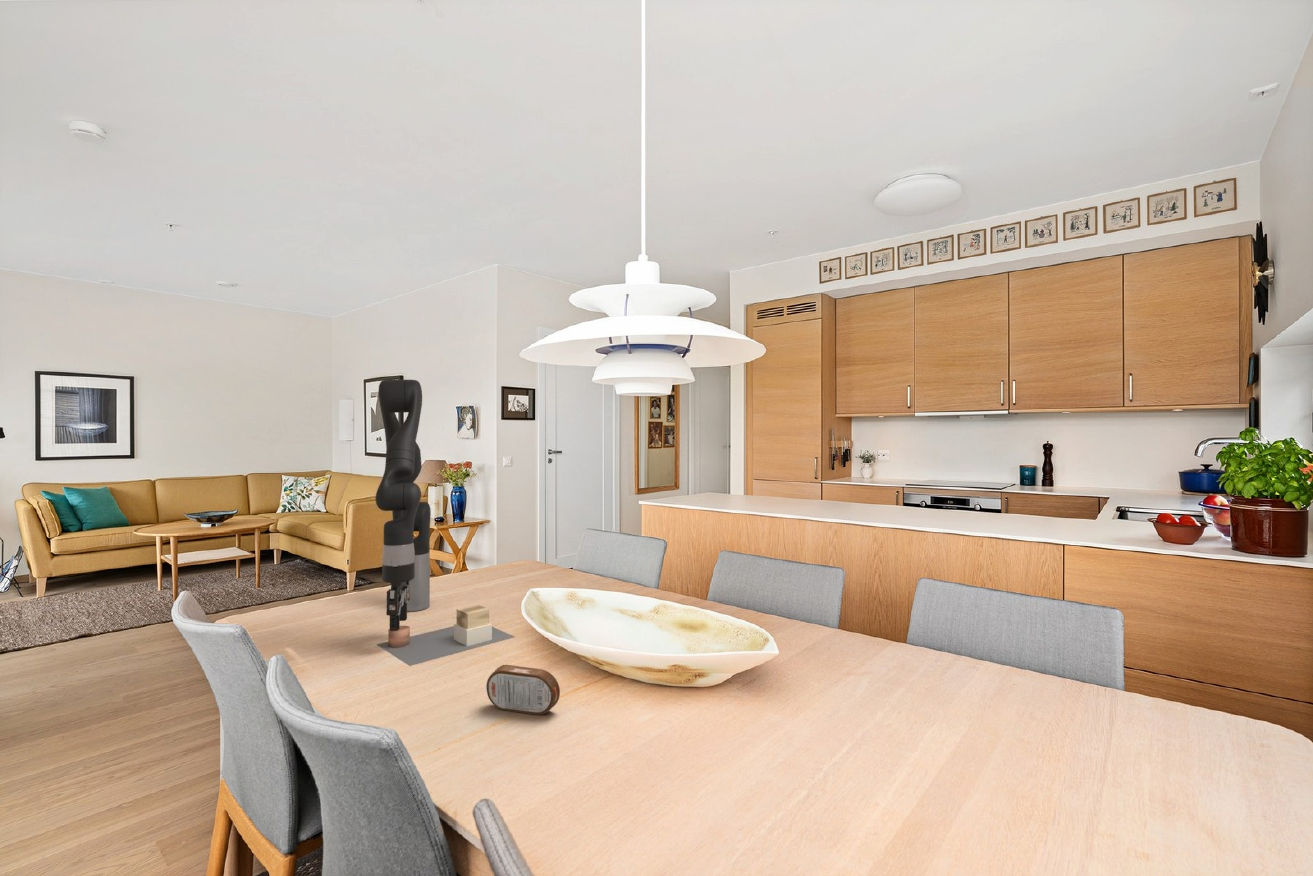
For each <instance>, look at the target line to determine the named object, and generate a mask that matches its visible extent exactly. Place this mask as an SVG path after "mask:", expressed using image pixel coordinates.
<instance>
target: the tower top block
mask: <svg viewBox="0 0 1313 876" xmlns="http://www.w3.org/2000/svg"><path fill="white" fill-rule="evenodd" d="M489 623H490V608H487V607H485V606H483V605H480V604H478V603H477V604H473V605H469V606H463V607H460V608H456V624H457V625H459V626H461V627H463V628H465V629H472V628H476V627H480V626H484V625H488V624H489Z"/></svg>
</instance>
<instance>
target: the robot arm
mask: <svg viewBox="0 0 1313 876" xmlns="http://www.w3.org/2000/svg"><path fill="white" fill-rule="evenodd" d="M377 391H378V401H379V407H380V413H381V417H382V423H383V428H384V436H385V448H386V450H385V465H384V472H383V475H382V479H381V481H380V483H379V485H378V487H377V490H376V493H375V497H374V498H375V504H376V506H377V507H378V509H379V510H380V511H383V512H391V513H392V519H391V520H387V521H386V522H384V525H383V548H382V557H381V558H382V560H381V561H382V565H381V566H382V569H381V570H382V572H381V573H382V577H381V579H382V581H383V582H384V583H389V584H390V588H389V589H387V591H386V613H385V614H386V616H389V629H390V631H398V630H399V629H400V626H401V624H400V622H405V621H406V620H408V612H417V611H423V610H426V609H428V608H429V607H430V606H431V604H430V603H431V600H430V598H431V597H430V596H431V595H430V594H431V590H430V588H431V583H430V582H431V581H430V580H431V576H430V575H431V570H430V569H431V568H430V567H431V566H430V564H431V563H430V562H431V561H430V557H431V556H430V553H431V552H430V542H431V541H430V536H431V535H430V534H431V533H430V531H431V518H432V517H431V512H432V511H431V506H430V504H429V502H427V501H421V498H422V490H421V488H420V486H419V485H418V484H417V483H415V481H416V480H417V478H418V477H419V475H420V473H421V471H422V456H421V449H420V446H419V444H418V442H417V441H416V440H417V438H418V437H417V435H418V432H419V426H420V420H421V419H420V418H421V413H422V408H423V407H422V406H423V390H422V386H421V383H420V382H419V380H416V379H383V380H381V381H380V383H379V385H378V390H377ZM396 413H407V416H406V419H405V420H404V421H403V423H402V424H401V423H400V421H399V420H398V417H397V414H396ZM414 532H418V535H417V536H415V537H414ZM393 608H394V609H393Z"/></svg>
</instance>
